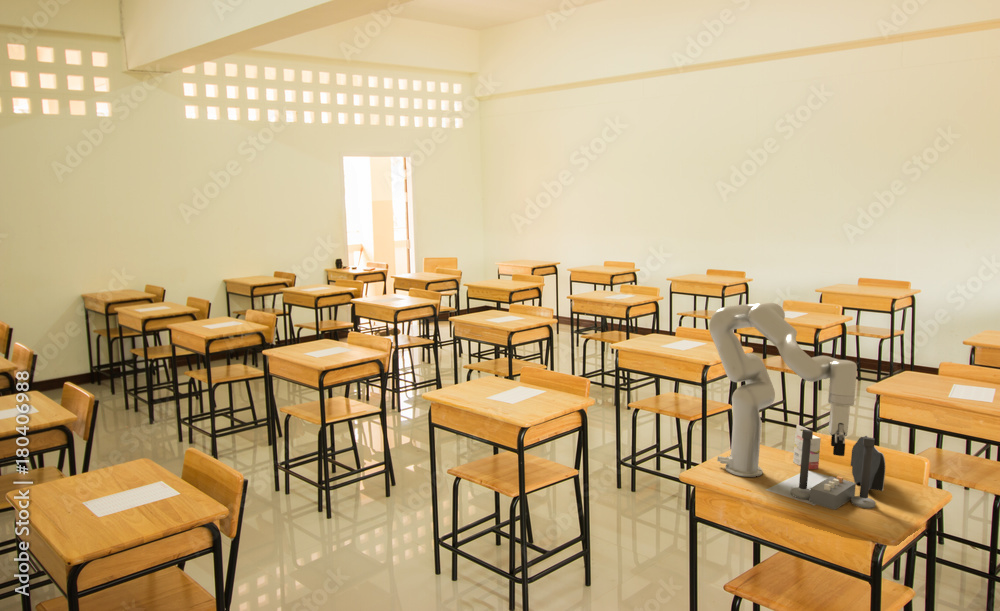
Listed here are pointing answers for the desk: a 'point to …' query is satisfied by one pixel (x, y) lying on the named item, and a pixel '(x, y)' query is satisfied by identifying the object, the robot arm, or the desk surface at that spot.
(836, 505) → the breaker block
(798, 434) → the ink cartridge box
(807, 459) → the left cord stand
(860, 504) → the right cord stand
